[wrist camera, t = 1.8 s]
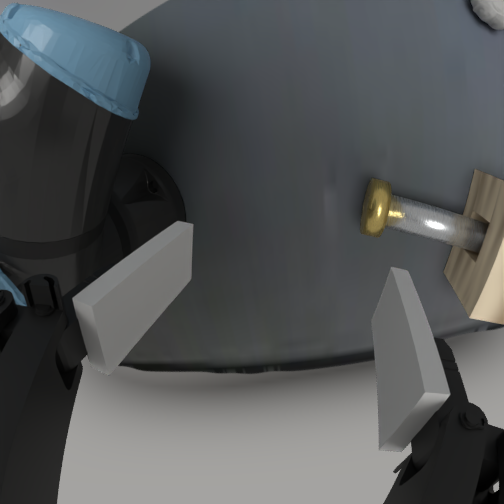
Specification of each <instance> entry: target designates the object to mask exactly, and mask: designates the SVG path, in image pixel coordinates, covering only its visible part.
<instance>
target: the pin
mask: <svg viewBox="0 0 504 504" xmlns="http://www.w3.org/2000/svg"><path fill="white" fill-rule="evenodd" d="M488 227H489V224H488V223H485V222H482V221H479V220H476V219H473V218H470V217H467V216H464V215H461V214H458V213H454V212H451V211H448V210H445V209H442V208H438V207H435V206H432V205H428V204H425V203H421V202H418V201H414V200H410V199H407V198H403V197H399V196H396V195H392V194H391V185H390V183H389V182H387V181H383V180H379V179H375V178H372V179H371V180H370V182H369V185H368V187H367V191H366V194H365V199H364V203H363V208H362V214H361V222H360V232H361V234H364V235H369V236H373V237H377V238H378V237H380V236H381V234H382V232H383V230H384V228H388V229H392V230H396V231H400V232H404V233H408V234H412V235H416V236H420V237H423V238H427V239H431V240H435V241H438V242H442V243H446V244H449V245H453V246H456V247H460V248H463V249H467V250H470V251H474V252H477V253H480V250H481V247H482V245H483V242H484V239H485V236H486V233H487V230H488Z"/></svg>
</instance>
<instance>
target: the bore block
mask: <svg viewBox="0 0 504 504" xmlns="http://www.w3.org/2000/svg"><path fill="white" fill-rule="evenodd" d="M463 215H464V216H467V217H470V218H473V219H476V220H479V221H482V222H485V223H488V224H489V227H488V230H487V233H486V236H485V239H484V242H483V245H482V247H481V250H480V253H477V252H474V251H470V250H467V249H463V248H460V247H456V246H453V247H452V250H451V253H450V255H449V258H448V261H447V264H446V266H445V269H444V271H443V273H444V274H445V276H446V277H447V279H448V281H449V282H450V284H451V286H452V288H453V289H454V291H455V293H456V294H457V296H458V298H459V300H460V302H461V303H462V305H463V307H464V309H465V311H466V312H467V314H468V316H469V318H473V319H478V320H483V321H488V322H494V323H499V324H504V181H503V180H501V179H499V178H496V177H494V176H492V175H489V174H487V173H484V172H482V171H479V170H477V169H475V170H474V175H473V179H472V183H471V187H470V191H469V195H468V199H467V202H466V206H465V209H464V213H463Z"/></svg>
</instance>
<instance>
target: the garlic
mask: <svg viewBox="0 0 504 504" xmlns="http://www.w3.org/2000/svg"><path fill="white" fill-rule="evenodd" d="M471 4H472V6H473V11H474V12H475V13H476V14H477V15H478V17H479V18H480V19H481V20H482V21H484V22H486V23H488V25H489V26H490V27H492V28H493V29H495V30H503V29H504V0H471Z"/></svg>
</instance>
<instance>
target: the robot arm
mask: <svg viewBox="0 0 504 504" xmlns="http://www.w3.org/2000/svg"><path fill="white" fill-rule="evenodd" d="M150 66H151V61H150V56H149V53H148V51H147V50H146V48H145V47H144V46H143V45H142V44H141V43H139V42H138V41H136V40H134V39H132V38H130V37H128V36H126V35H123V34H121V33H119V32H117V31H114V30H112V29H109V28H107V27H104V26H101V25H99V24H96V23H93V22H90V21H87V20H85V19H82V18H79V17H75V16H72V15H68V14H65V13H62V12H58V11H54V10H50V9H46V8H42V7H38V6H32V5H21V4H18V3H12V4H10V5H8V6H7V7H6V8H5V9H4V11H3V13H2V14H1V15H0V504H57V497H58V489H59V481H60V474H61V467H62V461H63V455H64V449H65V444H66V438H67V433H68V429H69V424H70V419H71V415H72V411H73V406H74V402H75V398H76V394H77V390H78V386H79V383H80V379H81V375H82V370H83V368H82V367H83V366H82V364H81V360H82V359H83V358H84V357H85V356H86V355H87V356H88V359H89V362H90V365H91V367H92V368H94V369H96V370H98V371H100V372H102V373H104V374H106V375H108V376H109V375H110V374H111V373H112V372H113V371H114V370H115V368H116V367H117V366H118V365H119V364H120V362H121V361H122V360H123V359H124V358H125V356H126V355H127V354H128V353H129V352H130V350H131V349H132V348H133V347H134V346H135V344H136V343H137V342H138V341H139V340H140V339H141V337H142V336H143V335H144V334H145V333H146V331H147V330H148V329H149V328H150V327H151V326H152V324H153V323H154V322H155V321H156V320H157V318H158V317H159V316H160V315H161V314H162V313H163V311H164V310H165V309H166V308H167V307H168V306H169V305H170V303H171V302H172V301H173V300H174V299H175V298H176V296H177V295H178V294H179V293H180V292H181V291H182V290H183V288H184V287H185V286H186V285H187V284H188V283H189V281H190V280H191V273H192V243H193V224H191V223H186V219H185V210H184V205H183V201H182V198H181V195H180V193H179V191H178V188H177V186H176V185H175V183H174V181H173V180H172V178H171V177H170V176H169V174H168V173H167V172H166V171H165V170H164V169H163V168H162V167H161V166H160V165H158V164H157V163H156V162H154V161H153V160H151V159H149V158H147V157H144V156H141V155H137V154H123V155H122V153H123V149H124V146H125V143H126V139H127V136H128V133H129V130H130V127H131V124H132V121H133V120H135V119H137V117H138V114H139V110H138V105H139V102H140V99H141V96H142V92H143V89H144V86H145V83H146V80H147V77H148V75H149V71H150ZM371 324H372V333H373V343H374V353H375V365H376V378H377V393H378V394H377V395H378V419H379V450H381V451H396V452H402V451H403V450H404V448H406V446H407V445H408V444H409V443H410V442H411V446H412V453H411V454H410V455H409V456H408V457H407V458H406V459H405V460H404V461H403V462H402V463H401V464H400V465H399V466H397V468H396V469H395V470H394V471H393V472H394V473H397V472H398V471H399V470H400V469H401V470H400V472H399V474H398V477H397V479H396V481H395V483H394V485H393V487H392V489H391V490H390V493H389V494H388V496H387V498H386V500H385V502H384V503H383V504H504V429H501V428H498V427H495V426H492V425H489V424H488V420H487V418H486V416H485V414H484V412H483V411H482V410H481V409H480V408H479V407H478V406H476V405H474V404H473V403H469V402H468V399H467V395H466V391H465V388H464V385H463V382H462V379H461V376H460V373H459V372H458V367H457V364H456V363H455V358H454V355H453V352H452V350H451V348H450V347H449V346H448V345H447V343H446V342H445V341H444V340H443V339H439V338H433V335H432V332H431V329H430V326H429V323H428V321H427V318H426V315H425V312H424V310H423V307H422V305H421V302H420V299H419V297H418V294H417V292H416V289H415V287H414V284H413V282H412V279H411V277H410V275H409V272H408V270H403V269H399V268H395V267H391V269H390V272H389V274H388V277H387V280H386V283H385V286H384V289H383V291H382V294H381V297H380V299H379V302H378V305H377V307H376V310H375V312H374V315H373V318H372V320H371ZM498 481H499V490H498V491H496V492H494V490H493V485H494V484H496V483H497V482H498Z"/></svg>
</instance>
